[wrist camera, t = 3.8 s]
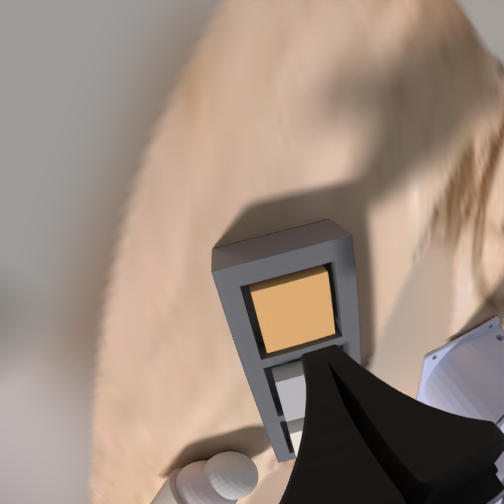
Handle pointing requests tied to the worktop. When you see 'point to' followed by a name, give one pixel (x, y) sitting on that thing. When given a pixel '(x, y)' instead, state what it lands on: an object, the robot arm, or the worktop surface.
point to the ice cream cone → (210, 481)
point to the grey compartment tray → (246, 321)
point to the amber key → (294, 308)
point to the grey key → (291, 389)
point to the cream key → (296, 432)
